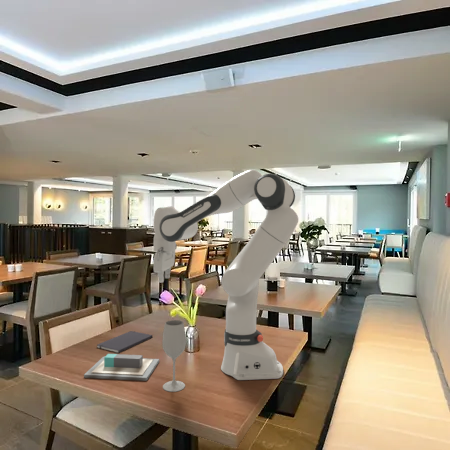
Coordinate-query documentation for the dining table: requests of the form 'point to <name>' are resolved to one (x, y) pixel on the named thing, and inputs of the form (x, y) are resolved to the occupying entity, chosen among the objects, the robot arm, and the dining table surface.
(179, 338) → the wineglass
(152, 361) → the notepad
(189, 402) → the dining table surface
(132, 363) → the marker
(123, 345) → the notebook
